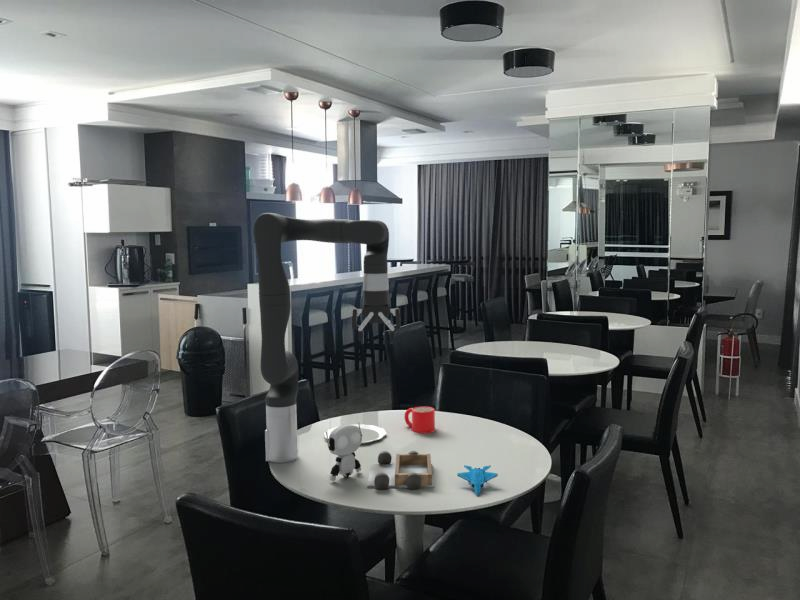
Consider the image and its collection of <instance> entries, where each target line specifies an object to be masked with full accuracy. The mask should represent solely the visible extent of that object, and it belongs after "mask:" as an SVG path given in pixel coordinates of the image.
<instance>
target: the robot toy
mask: <svg viewBox="0 0 800 600" xmlns="http://www.w3.org/2000/svg"><path fill="white" fill-rule="evenodd" d="M357 424H358V425H359V427H357V426H354V425H355V424H341V425H339V426H336V427H337V428H336V429H334V430H333V431H332V432H331V434H330V436H329V439H328V435H327V431H328V430H326V431H325V432H326V436H327V439H326V441H327V447H328V451H330V453H331V454H333V455H335V456H336V457H335V464H334V465H333V466H332V467H331V470H330V475H331V476H329V477H330V478H329V480H330V482H331V481H332V482H335V481H336V479H337V477H338V476H339V475H341V476H343V478H349V477H350V476H351V475H352V474H353V473H354V470H355V472H356V473H360V472H361V471H362V465H361V463H360V461H359V460H358V459H357V458H356V453H355V452H356V451H357V450H359V448H360V447H361V445H362V444H361V442H363V439H362V438H363V434H362V429H360V424H361V423H360V421H358V423H357Z"/></svg>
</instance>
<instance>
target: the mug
mask: <svg viewBox="0 0 800 600" xmlns="http://www.w3.org/2000/svg"><path fill="white" fill-rule="evenodd" d="M435 412H436V411H435V408H434V407H432V406H414V407H410V408H408V409H407V410H406V411H405V413H404V421H405V423H406V425H407V426H408V427H409V428H411V430H412V431H413V432H414V433H416V434H417V433H418V434H430V433H432V432H435V430H436V422H435V421H436V420H435V419H436V415H435V414H436V413H435ZM410 414H411V421H410V418H409V415H410Z"/></svg>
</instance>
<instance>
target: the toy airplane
mask: <svg viewBox="0 0 800 600" xmlns="http://www.w3.org/2000/svg"><path fill="white" fill-rule="evenodd" d="M463 467H464V468H465V469H467V471H464V472H457V474H456V475H457V477H459V478H461V479H463V480H465V481H467V482H468V483H470V486H471V487H472V488H473V489H474V492H475V495H476V496H477V497H478V496H479V495H480V493H481V490H482V488H483V487H485V484H488V481H491V480H492V479H495V478H497V477H498V474H499V473H496V472H490V471H488V470H489V469H490V468H492V466H491V465H490V464H489V465H485V466H483V467H482V468H480V467H478V468H477V467H474V468H472V466H470V465H465V464H464V466H463Z"/></svg>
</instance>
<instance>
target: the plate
mask: <svg viewBox="0 0 800 600" xmlns="http://www.w3.org/2000/svg"><path fill="white" fill-rule="evenodd" d="M353 425H354V426H357V427H359V425H358V423H357V424H356V423H355V424H353ZM337 427H338V426H335V427H332V428H329V429H328V430H326V431H327V435H328V439H329V436H330V434H331V432H332V431H333V430H334V429H336V428H337ZM360 429H361V430H370V431H372V432H376V433H377V434H378V437H377V438H374V439H372V440H371V439H370V440H367V441H361V445H363V444H368V443H373V442H375V441H378V440H381V439H383V438H384V437H385V436H386V435H387V431H386V430H385V429H384V428H383V427H379V426H376V425H372V424H363V423H360ZM326 431H324V433H323V435H324V439H326V440H327V436H326Z"/></svg>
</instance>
